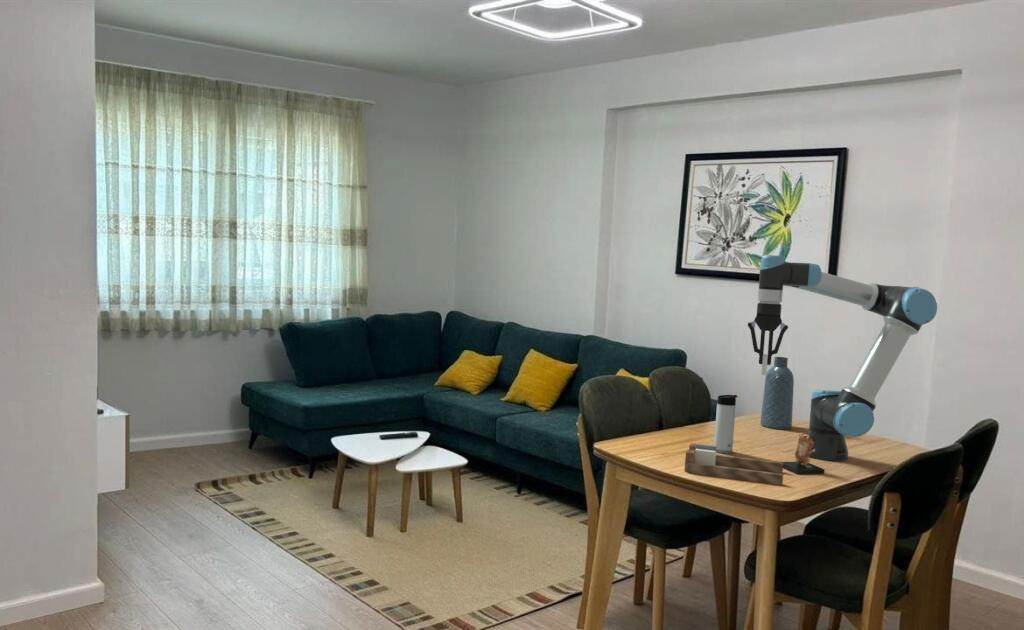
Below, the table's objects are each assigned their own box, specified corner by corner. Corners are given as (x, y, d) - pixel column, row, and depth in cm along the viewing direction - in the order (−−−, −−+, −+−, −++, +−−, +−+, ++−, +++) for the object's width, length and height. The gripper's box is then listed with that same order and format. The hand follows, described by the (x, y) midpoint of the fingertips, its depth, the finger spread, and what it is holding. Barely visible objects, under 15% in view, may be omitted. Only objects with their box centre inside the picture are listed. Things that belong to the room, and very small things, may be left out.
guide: (782, 471, 268) (783, 453, 268) (782, 485, 252) (783, 465, 252) (689, 460, 277) (691, 442, 276) (683, 472, 261) (685, 453, 260)
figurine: (824, 474, 269) (827, 436, 268) (796, 474, 266) (800, 437, 265) (804, 465, 279) (807, 429, 278) (778, 466, 276) (781, 430, 275)
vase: (762, 428, 338) (767, 358, 336) (758, 422, 350) (763, 354, 348) (793, 430, 336) (799, 360, 334) (788, 425, 348) (794, 357, 346)
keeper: (715, 467, 269) (717, 444, 268) (714, 471, 263) (715, 448, 263) (695, 464, 271) (696, 442, 270) (693, 468, 265) (694, 446, 265)
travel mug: (733, 454, 289) (738, 396, 287) (713, 452, 290) (718, 395, 288) (732, 450, 295) (736, 394, 293) (713, 448, 296) (717, 392, 294)
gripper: (790, 303, 276) (784, 375, 278) (749, 300, 280) (743, 371, 282) (790, 304, 269) (784, 377, 271) (748, 301, 273) (742, 374, 275)
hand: (763, 374), depth 276 cm, fingers closed
